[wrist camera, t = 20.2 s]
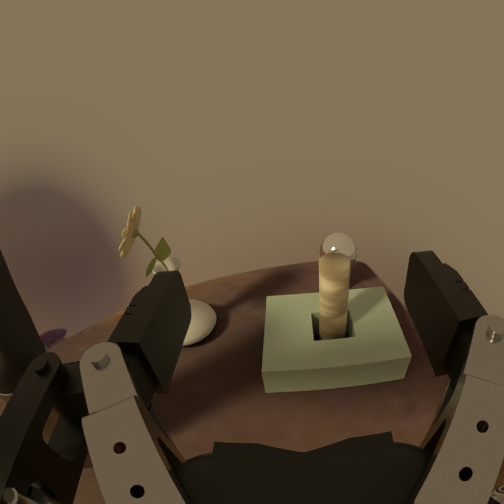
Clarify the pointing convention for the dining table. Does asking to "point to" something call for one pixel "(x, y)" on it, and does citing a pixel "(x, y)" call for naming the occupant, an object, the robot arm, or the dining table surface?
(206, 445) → the dining table surface
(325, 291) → the peg
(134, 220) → the flower in vase
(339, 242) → the light bulb
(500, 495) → the watch
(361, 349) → the hole block
